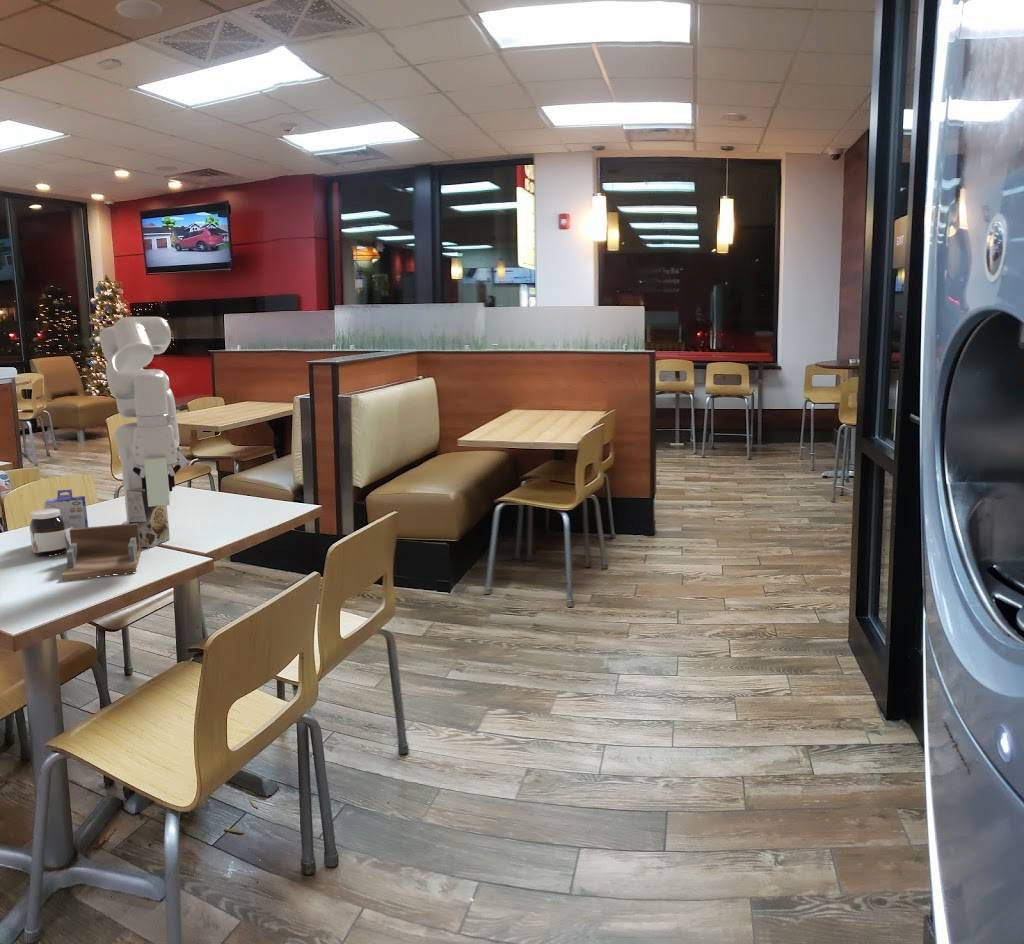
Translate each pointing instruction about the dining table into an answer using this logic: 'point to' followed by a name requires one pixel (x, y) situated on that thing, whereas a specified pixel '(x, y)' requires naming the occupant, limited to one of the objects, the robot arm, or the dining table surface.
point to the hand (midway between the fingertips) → (159, 490)
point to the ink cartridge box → (70, 509)
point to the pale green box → (157, 481)
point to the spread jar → (48, 532)
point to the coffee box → (147, 518)
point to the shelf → (102, 551)
